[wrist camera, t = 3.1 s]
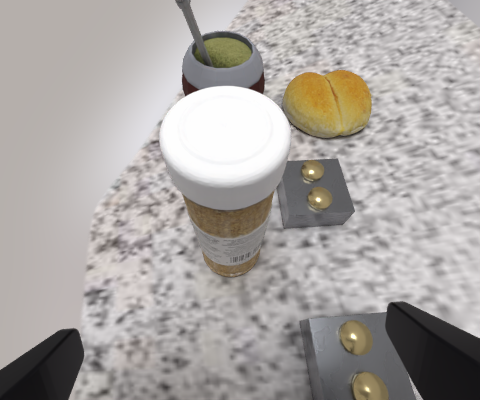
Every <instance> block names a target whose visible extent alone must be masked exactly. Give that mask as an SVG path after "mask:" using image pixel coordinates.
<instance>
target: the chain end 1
mask: <svg viewBox="0 0 480 400" xmlns="http://www.w3.org/2000/svg"><path fill="white" fill-rule="evenodd" d="M277 191H278V197H279V203H280V209H281V214H282V220H283V226H284V228H298V227H313V226H329V225H343V224H344V223H345V222H346V220H347V219H348V218H349V217H350V216H351V215H352V214H353V213H354V212H355V210H354V207H353V204H352V201H351V198H350V195H349V192H348V189H347V186H346V182H345V179H344V176H343V173H342V170H341V167H340V164H339V161H338V159H321V160H301V161H287V163H286V167H285V170H284V174H283V176H282V178H281V180H280V182H279V184H278V186H277Z"/></svg>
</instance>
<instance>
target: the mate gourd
mask: <svg viewBox="0 0 480 400" xmlns="http://www.w3.org/2000/svg"><path fill="white" fill-rule="evenodd" d="M175 1H176V3H177V5H178V6H179V8H180V9H182V11H183V14H184V16H185V18H186V21H187V23H188V25H189V28H190V31H191V33H192V35H193V38H194V41H193V43H192V44H191V45H190V46H189V48H188V50H187V52H186V54H185V56H184V59H183V66H182V72H183V75H182V85H183V91H184V94H185V97H186V96H187V95H189V94H191V93H193V92H196V91H199V90H201V89H205V88H209V87H216V86H236V87H243V88H247V89H251V90H254V91H256V92H259V93H261V94H263V92H264V83H265V79H264V72H263V71H264V69H263V62H262V57H261V55H260V53H259V51H258V50H257V48H256V47H255V45H254V44H253V43H252V42H251V41H250V39H248V38H246V37H245V36H243V35H241V34H239V33H234V32H230V31H215V32H210V33H206V34H204V35H202V36H201V34H200V31H199V29H198V26H197V23H196V20H195V18H194V15H193V12H192V9H191V7H190V0H175Z"/></svg>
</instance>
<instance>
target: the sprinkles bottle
mask: <svg viewBox="0 0 480 400" xmlns="http://www.w3.org/2000/svg"><path fill="white" fill-rule="evenodd" d="M159 141H160V148H161V152H162V155H163V158H164V161H165V164H166V167H167V169H168V172H169V174H170V177H171V179H172V181H173V183H174V185H175V186H176V187H177V188H178V190H179V191H180V192H181V193H182V195H183V197H184V200H185V203H186V208H187V211H188V215H189V217H190V220H191V222H192V225H193V227H194V230H195V233H196V236H197V238H198V241H199V244H200V247H201V249H202V251H203V255H204V260H205V262H206V264H207V265H208V266H209V267H210V269H211V270H212V271H214V272H216V273H217V274H219V275H222V276H226V277H236V276H239V275H242V274H244V273H246V272H248V271H249V270H250V269H251V268H252V267H253V266H254V265H255V263H256V262H257V259H258V257H259V254H260V247H261V244H262V241H263V238H264V235H265V231H266V227H267V224H268V220H269V216H270V213H271V208H272V198H273V194H274V190H275V188H276V187H277V186H278V184H279V182H280V180H281V178H282V176H283V174H284V170H285V167H286V163H287V159H288V155H289V151H290V146H291V129H290V125H289V122H288V120H287V117H286V116H285V114H284V112H283V111H282V110H281V108H280V107H279V106H278V105H277V104H276V103H275V102H273V101H272V100H271V99H270V98H268V97H266V96H265V95H263V94H261V93H259V92H256V91H254V90H251V89H247V88H243V87H236V86H216V87H209V88H205V89H201V90H199V91H196V92H193V93H191V94H189V95H187V96H186V97H184V98H182V99H181V100H180V101H178V102H177V103H176V104H175V105H174V106H173V107H172V108H171V109H170V110H169V112H168V113H167V115H166V116H165V118H164V120H163V122H162V125H161V129H160V133H159Z"/></svg>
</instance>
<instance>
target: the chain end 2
mask: <svg viewBox="0 0 480 400" xmlns="http://www.w3.org/2000/svg"><path fill="white" fill-rule="evenodd" d="M386 314H387V312H382V313H371V314H359V315H347V316H335V317H323V318H311V319H306V320H303V321H300V326H301V332H302V337H303V343H304V349H305V355H306V361H307V367H308V373H309V378H310V384H311V390H312V396H313V400H416V398H415V395H414V392H413V389H412V386H411V383H410V380H409V377H408V373H407V371H406V369H405V367H404V365H403V363H402V361H401V359H400V357H399V355H398V354H397V352H396V350H395V348H394V346H393V344H392V342H391V340H390V338H389V337H388V335H387V332H386V329H385V320H386Z"/></svg>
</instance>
